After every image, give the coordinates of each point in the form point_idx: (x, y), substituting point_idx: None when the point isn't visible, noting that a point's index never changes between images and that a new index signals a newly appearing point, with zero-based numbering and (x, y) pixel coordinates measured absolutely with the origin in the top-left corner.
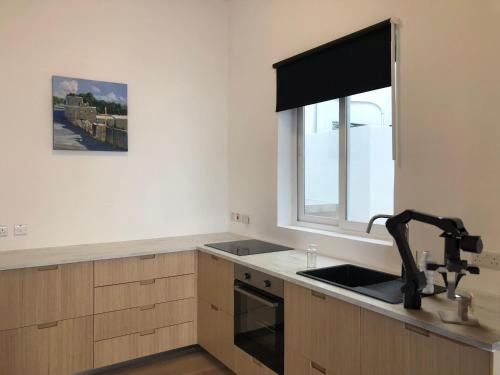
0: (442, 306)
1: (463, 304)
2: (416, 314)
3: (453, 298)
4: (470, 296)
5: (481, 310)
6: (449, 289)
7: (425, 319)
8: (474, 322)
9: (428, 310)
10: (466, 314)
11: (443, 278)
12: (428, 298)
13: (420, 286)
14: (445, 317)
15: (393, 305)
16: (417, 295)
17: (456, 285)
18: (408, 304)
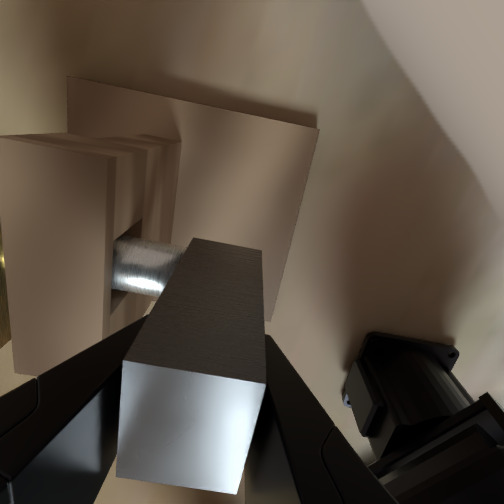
0: None
1: (130, 146)
2: (426, 257)
3: (203, 241)
4: (1, 246)
5: (13, 373)
6: (241, 300)
7: (411, 169)
8: (100, 116)
9: (316, 335)
10: (135, 136)
11: (380, 482)
12: (243, 496)
13: (472, 464)
14: (274, 191)
15: (491, 385)
16: (414, 415)
17: (113, 342)
18: (439, 366)
